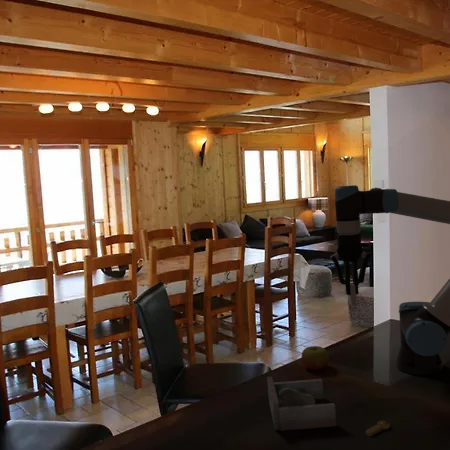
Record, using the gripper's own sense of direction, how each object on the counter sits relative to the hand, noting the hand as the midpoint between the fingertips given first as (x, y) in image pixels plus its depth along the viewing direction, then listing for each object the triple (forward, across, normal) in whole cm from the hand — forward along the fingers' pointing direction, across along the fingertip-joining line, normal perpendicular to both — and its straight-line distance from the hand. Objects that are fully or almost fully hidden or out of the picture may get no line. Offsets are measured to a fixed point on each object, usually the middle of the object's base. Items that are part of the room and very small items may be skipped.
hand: (352, 304), depth 168 cm
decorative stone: (+27, +23, +20) cm, 41 cm away
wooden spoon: (+27, +3, +32) cm, 42 cm away
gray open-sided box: (+26, +22, +19) cm, 39 cm away
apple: (+27, +11, -15) cm, 33 cm away
